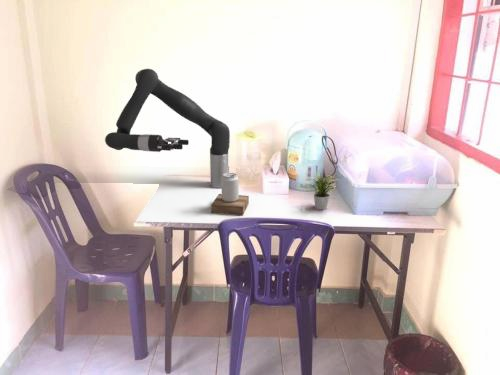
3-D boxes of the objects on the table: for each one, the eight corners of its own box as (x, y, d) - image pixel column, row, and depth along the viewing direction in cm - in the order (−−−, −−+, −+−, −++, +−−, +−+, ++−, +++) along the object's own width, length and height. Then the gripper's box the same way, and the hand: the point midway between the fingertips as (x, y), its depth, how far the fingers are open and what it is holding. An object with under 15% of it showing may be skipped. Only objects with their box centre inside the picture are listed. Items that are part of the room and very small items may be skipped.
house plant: (330, 217, 187) (333, 181, 182) (300, 210, 193) (302, 175, 188) (340, 206, 199) (343, 172, 194) (312, 201, 205) (314, 168, 200)
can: (236, 203, 190) (236, 177, 186) (219, 202, 191) (219, 176, 187) (240, 197, 197) (240, 172, 193) (224, 196, 198) (224, 171, 194)
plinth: (219, 201, 203) (219, 193, 202) (248, 204, 201) (248, 195, 199) (211, 212, 190) (211, 204, 189) (242, 215, 188) (242, 206, 186)
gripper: (143, 138, 186) (179, 139, 183) (155, 131, 199) (189, 132, 197) (144, 155, 189) (180, 157, 186) (156, 147, 202) (190, 149, 199)
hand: (185, 144), depth 191 cm, fingers open, 8 cm apart
